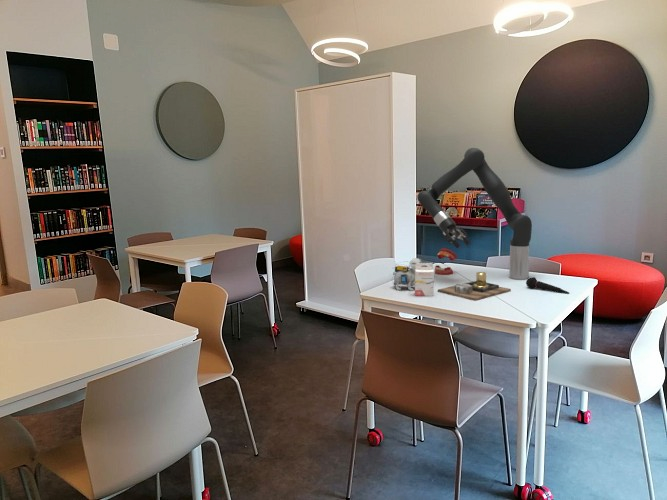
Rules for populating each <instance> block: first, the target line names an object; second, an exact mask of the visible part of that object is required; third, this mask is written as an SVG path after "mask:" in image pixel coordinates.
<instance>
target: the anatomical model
mask: <svg viewBox="0 0 667 500" xmlns="http://www.w3.org/2000/svg"><path fill="white" fill-rule="evenodd" d="M447 257H448V259H449V260H450V261H454V260H457V258H458V255H457V254H456V253H455V252H454V251H452V250H451V249H448V248H445V247H442V248H441V249H440V250H439V252H438V253H437V258H438V259H439V260H442V259H445V258H447ZM453 274H454V271H453V269H452V268H451V267H450V266H447V267H444V268H442V267H441V266H440V265H437V264H436V266H435V267H434V275H440V276H450V275H451V276H452V275H453Z"/></svg>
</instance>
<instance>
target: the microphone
mask: <svg viewBox="0 0 667 500" xmlns="http://www.w3.org/2000/svg"><path fill="white" fill-rule="evenodd" d="M525 283H526V286H527V287H528V289H530V288H531V289H540V290H542V291H550V292H552V291H553V292H554V293H559V294H568V295H569V294H570V292H569V291H566V290H564V289H562V288H561V287H558V286H555V285H552V284H548V283H545V282H542V281H540V280H537V278H536V277H528V278H527V279H526V281H525ZM531 289H530V290H531Z"/></svg>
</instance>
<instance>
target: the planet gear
mask: <svg viewBox="0 0 667 500" xmlns="http://www.w3.org/2000/svg"><path fill="white" fill-rule="evenodd" d="M475 279H476V280H475V281H476V284H474V285H473V287H476V288H480V289H483V288H487V287H490V285H487V284H486V283H487V272H485V271H477V272H476V277H475Z"/></svg>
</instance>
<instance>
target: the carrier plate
mask: <svg viewBox="0 0 667 500" xmlns="http://www.w3.org/2000/svg"><path fill="white" fill-rule="evenodd" d="M474 284H476V280H475V281H473V280H472V281H468V282H465V283H457V284H455V285H451V286H447V287H443V288H439V289H437V292H438V293H440V294H441V293H442V294H445V295H450V296H453V297H454V296H455V297H458V298H463V299H466V300H471V301H475V302H476V301H479V300H482V299H483V300H484V299H486V298H491V297H494V296H497V295H501V294H505V293H509V292H511V290H512V289H511V288H508V287H502V286H500V285H499V284H494V283H490V282H486V284H487V285H490V287H487V288H483V289H480V288H476V287H473V285H474Z"/></svg>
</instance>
